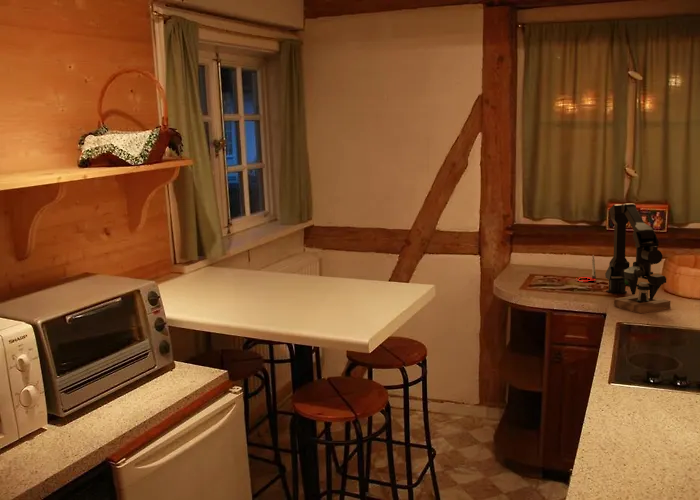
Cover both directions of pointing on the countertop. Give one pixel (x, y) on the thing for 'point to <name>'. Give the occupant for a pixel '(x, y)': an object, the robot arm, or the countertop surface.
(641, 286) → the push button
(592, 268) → the red grey looped piece
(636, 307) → the holder block
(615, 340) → the countertop surface
